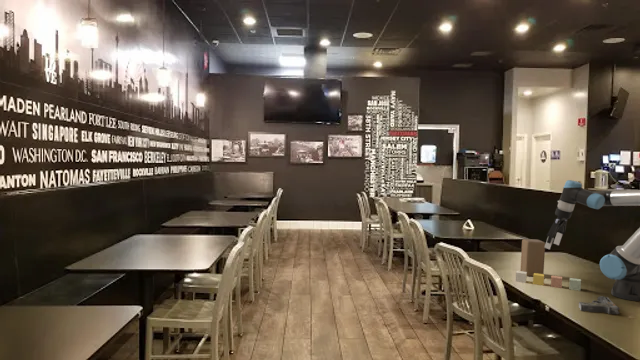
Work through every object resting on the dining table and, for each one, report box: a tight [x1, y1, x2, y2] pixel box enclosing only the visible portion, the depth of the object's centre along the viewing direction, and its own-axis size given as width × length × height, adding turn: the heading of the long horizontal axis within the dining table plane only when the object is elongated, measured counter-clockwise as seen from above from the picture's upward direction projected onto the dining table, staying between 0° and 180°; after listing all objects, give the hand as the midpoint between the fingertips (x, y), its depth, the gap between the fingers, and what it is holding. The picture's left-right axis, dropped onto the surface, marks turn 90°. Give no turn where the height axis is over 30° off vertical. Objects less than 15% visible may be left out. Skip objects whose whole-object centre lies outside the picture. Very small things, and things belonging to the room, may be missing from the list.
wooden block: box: [519, 238, 546, 277], centre depth 263 cm, size 10×10×20 cm
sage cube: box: [568, 277, 582, 292], centre depth 234 cm, size 5×5×5 cm
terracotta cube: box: [550, 275, 563, 289], centre depth 238 cm, size 5×5×5 cm
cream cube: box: [515, 270, 528, 284], centre depth 247 cm, size 5×5×5 cm
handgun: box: [578, 295, 620, 315], centre depth 204 cm, size 4×20×15 cm
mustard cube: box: [532, 273, 545, 286], centre depth 242 cm, size 5×5×5 cm
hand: (551, 246), depth 243 cm, fingers open, 13 cm apart
